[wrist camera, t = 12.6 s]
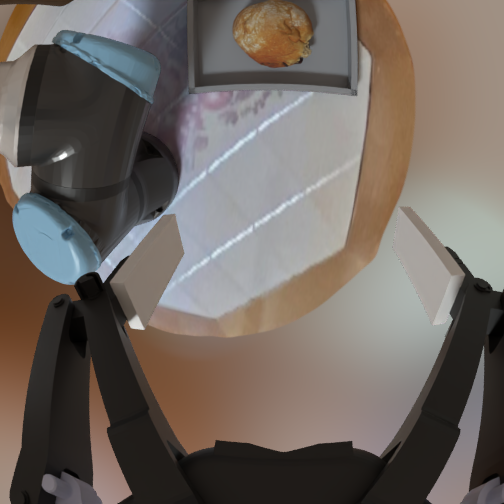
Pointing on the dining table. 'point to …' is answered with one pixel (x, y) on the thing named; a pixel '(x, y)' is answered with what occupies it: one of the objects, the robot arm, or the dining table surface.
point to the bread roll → (274, 33)
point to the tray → (263, 77)
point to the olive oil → (37, 2)
